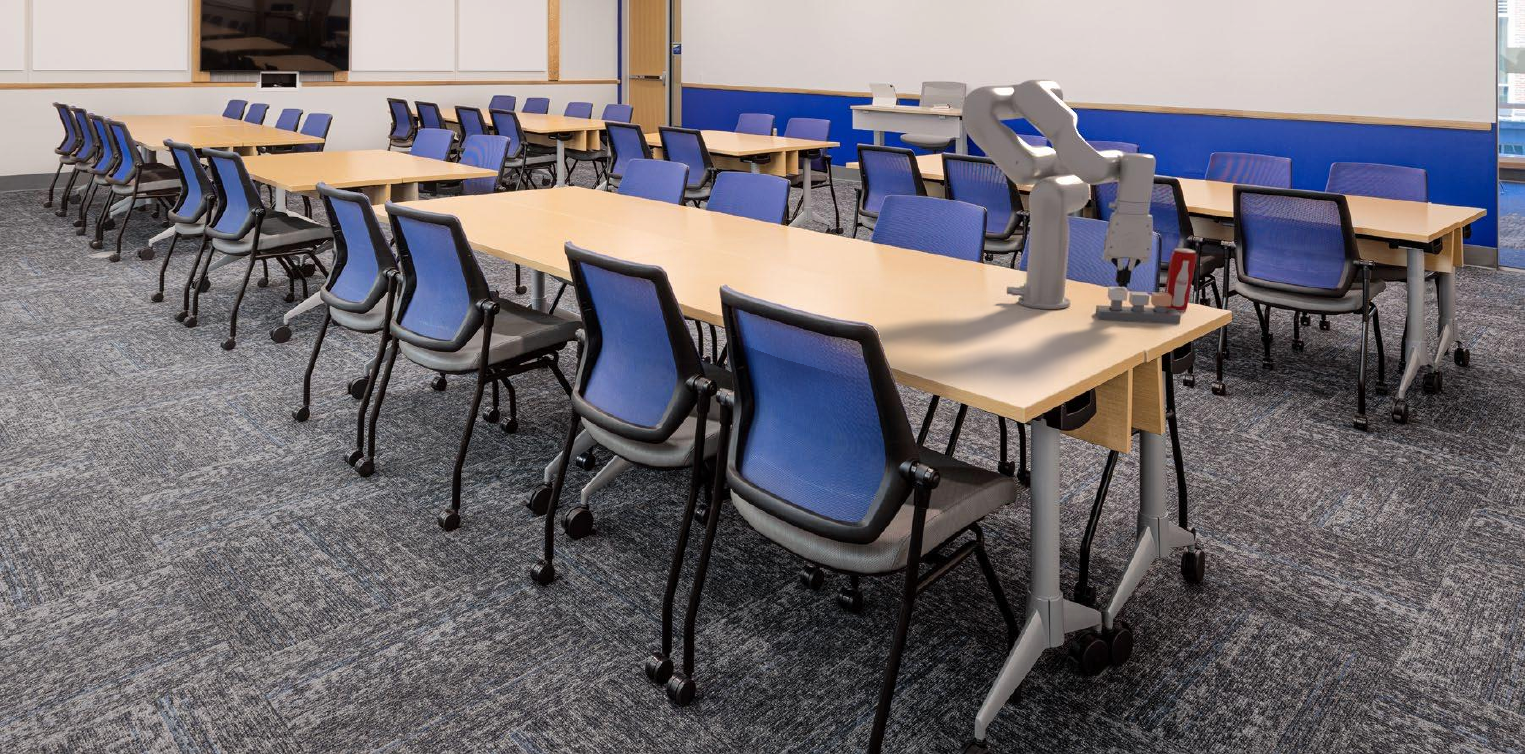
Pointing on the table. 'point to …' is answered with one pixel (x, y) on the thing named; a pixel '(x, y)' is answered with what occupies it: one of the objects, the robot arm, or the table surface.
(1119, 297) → the key white
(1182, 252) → the beverage can
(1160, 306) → the key terracotta
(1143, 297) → the key grey
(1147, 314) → the grey key base
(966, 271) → the table surface
